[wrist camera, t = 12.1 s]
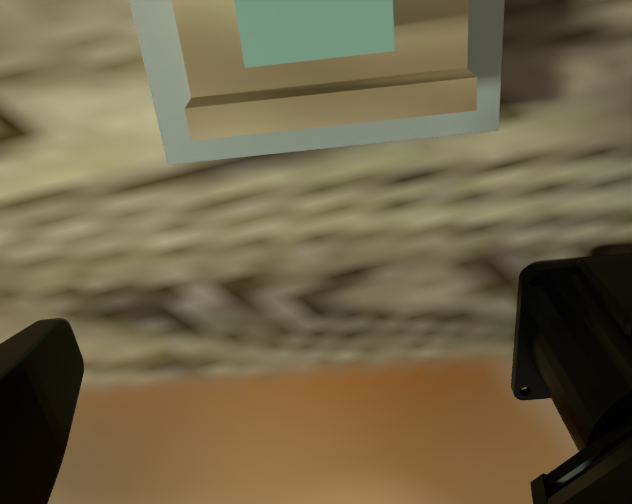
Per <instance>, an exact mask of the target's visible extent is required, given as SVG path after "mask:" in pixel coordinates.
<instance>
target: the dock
mask: <svg viewBox="0 0 632 504" xmlns="http://www.w3.org/2000/svg"><path fill="white" fill-rule="evenodd" d="M129 1H130V5H131V9H132V14H133V18H134V22H135V26H136V31H137V35H138V39H139V43H140V48H141V52H142V56H143V60H144V65H145V69H146V73H147V77H148V82H149V86H150V90H151V95H152V99H153V103H154V107H155V112H156V116H157V120H158V124H159V129H160V133H161V137H162V141H163V146H164V150H165V154H166V159H167V163H168V164H178V163H188V162H197V161H207V160H217V159H226V158H236V157H246V156H255V155H265V154H275V153H285V152H294V151H304V150H314V149H323V148H333V147H343V146H352V145H362V144H372V143H381V142H391V141H401V140H410V139H420V138H430V137H439V136H449V135H459V134H468V133H478V132H488V131H497V130H499V109H500V88H501V67H502V46H503V25H504V4H505V0H469V7H468V58H467V68H468V69H469V70H470V71H471V72H472V73H473V74H474V75H476V76H477V111H468V112H458V113H449V114H439V115H430V116H420V117H411V118H401V119H392V120H382V121H373V122H363V123H354V124H344V125H335V126H325V127H316V128H306V129H297V130H287V131H278V132H268V133H259V134H249V135H239V136H230V137H220V138H211V139H201V140H192V141H191V137H190V133H189V128H188V123H187V118H186V114H185V109H184V108H185V107H186V105H187V104H188V102H189V101H190V99H191V94H190V89H189V84H188V79H187V74H186V69H185V64H184V59H183V54H182V50H181V45H180V40H179V35H178V30H177V25H176V20H175V15H174V10H173V5H172V0H129Z"/></svg>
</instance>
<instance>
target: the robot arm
mask: <svg viewBox="0 0 632 504" xmlns="http://www.w3.org/2000/svg"><path fill="white" fill-rule="evenodd" d="M533 276H538V278H537V279H536V280H535V281H532V282H530V281H529V280H530V279H531V278H532V277H533ZM83 373H84V363H83V358H82V355H81V352H80V350H79V347H78V344H77V341H76V339H75V336H74V333H73V331H72V328H71V326H70V324H69V322H68V321H67V320H65V319H63V318H55V319H45V320H39V321H37V322H35V323H33V324H32V325H30V326H28V327H27V328H25V329H24V330H22V331H20V332H19V333H17V334H15V335H14V336H12V337H11V338H9V339H7V340H6V341H4V342H3V343H1V344H0V504H47V503H48V500H49V498H50V495H51V492H52V489H53V486H54V484H55V481H56V478H57V475H58V472H59V469H60V466H61V463H62V460H63V457H64V454H65V450H66V446H67V442H68V438H69V433H70V429H71V425H72V421H73V416H74V412H75V408H76V404H77V399H78V395H79V391H80V386H81V382H82V378H83ZM523 387H527V388H526V389H523V390H521V389H522V388H523ZM511 388H512V391H513V393H514V396H515V397H516V398H517V399H519V400H534V399H545V398H551V399H552V401H553V402H554V404H555V406H556V408H557V410H558V412H559V414H560V416H561V418H562V420H563V422H564V424H565V426H566V427H567V429H568V431H569V433H570V435H571V437H572V439H573V441H574V443H575V445H576V447H577V449H578V450H579V452H578V453H577V454H575V455H574V456H572V457H571V458H570V459H568V460H567V461H565V462H564V463H563V464H561V465H560V466H558V467H557V468H555V469H554V470H553V471H551V472H550V473H548V474H547V475H546V474H542V475H540V476H539V477H537V478H536V479H535V480H533V481H532V482H531V491H532V498H533V504H632V253H628V254H617V255H607V256H596V257H586V258H582V259H580V260H578V261H568V262H557V263H547V264H537V265H530V266H527V267H526V268H524V269H523V270H522V271H521V273H520V276H519V284H518V298H517V312H516V325H515V339H514V352H513V366H512V380H511Z"/></svg>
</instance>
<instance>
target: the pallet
mask: <svg viewBox="0 0 632 504" xmlns="http://www.w3.org/2000/svg"><path fill="white" fill-rule="evenodd" d="M172 5H173V10H174V15H175V20H176V25H177V30H178V35H179V40H180V45H181V50H182V54H183V59H184V64H185V69H186V74H187V79H188V84H189V89H190V94H191V99H190V101H189V102H188V104H187V105H186V107H185V108H184V109H185V114H186V118H187V123H188V128H189V133H190V137H191V141H192V140H201V139H211V138H220V137H230V136H239V135H249V134H259V133H268V132H278V131H287V130H297V129H306V128H316V127H325V126H335V125H344V124H354V123H363V122H373V121H382V120H392V119H401V118H411V117H420V116H430V115H439V114H449V113H458V112H468V111H477V76H476V75H474V74H473V73H472V72H471V71H470V70H469V69H468V68H467V58H468V7H469V0H393V19H394V44H395V51H390V52H381V53H372V54H364V55H355V56H346V57H337V58H328V59H320V60H311V61H302V62H293V63H284V64H275V65H267V66H258V67H249V68H245V66H244V60H243V53H242V47H241V41H240V35H239V28H238V22H237V16H236V10H235V3H234V0H172Z"/></svg>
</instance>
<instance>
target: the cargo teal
mask: <svg viewBox="0 0 632 504" xmlns="http://www.w3.org/2000/svg"><path fill="white" fill-rule="evenodd" d="M234 3H235V10H236V16H237V22H238V28H239V35H240V41H241V47H242V53H243V60H244V66H245V68H249V67H258V66H267V65H275V64H284V63H293V62H302V61H311V60H320V59H328V58H337V57H346V56H355V55H364V54H372V53H381V52H390V51H395V44H394V19H393V0H234Z"/></svg>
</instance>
